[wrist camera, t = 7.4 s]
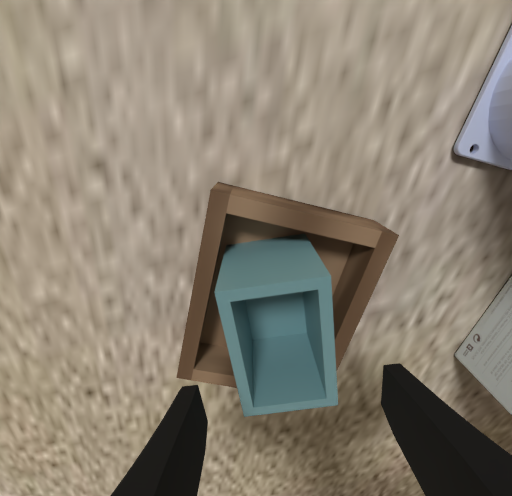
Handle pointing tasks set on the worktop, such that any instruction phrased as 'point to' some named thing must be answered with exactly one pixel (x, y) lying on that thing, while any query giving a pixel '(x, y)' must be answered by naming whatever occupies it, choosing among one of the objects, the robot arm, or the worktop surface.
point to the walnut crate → (273, 226)
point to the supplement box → (492, 348)
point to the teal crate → (278, 324)
